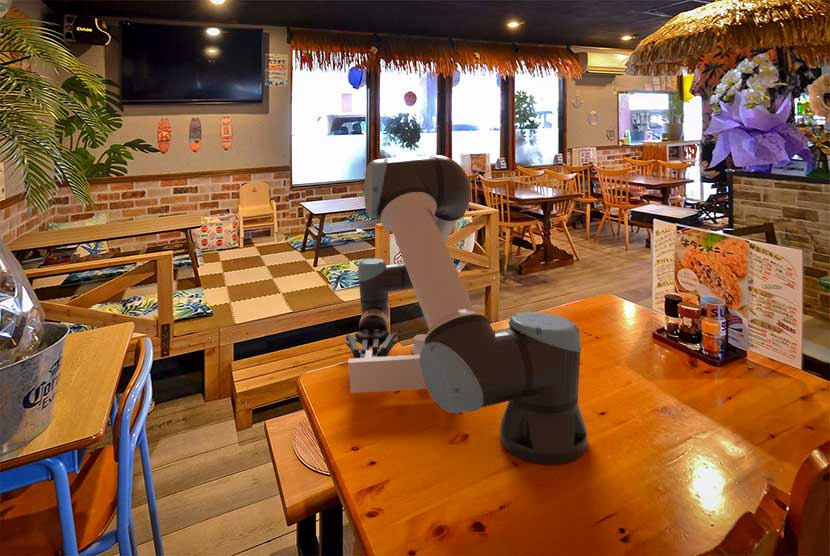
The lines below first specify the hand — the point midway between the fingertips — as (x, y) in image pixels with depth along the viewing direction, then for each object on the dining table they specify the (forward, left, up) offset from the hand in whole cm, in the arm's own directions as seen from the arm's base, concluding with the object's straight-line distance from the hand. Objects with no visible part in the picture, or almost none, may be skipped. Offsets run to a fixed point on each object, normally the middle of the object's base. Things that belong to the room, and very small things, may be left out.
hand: (367, 368), depth 106 cm
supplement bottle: (+8, -12, -7) cm, 16 cm away
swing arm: (-2, -6, -4) cm, 8 cm away
